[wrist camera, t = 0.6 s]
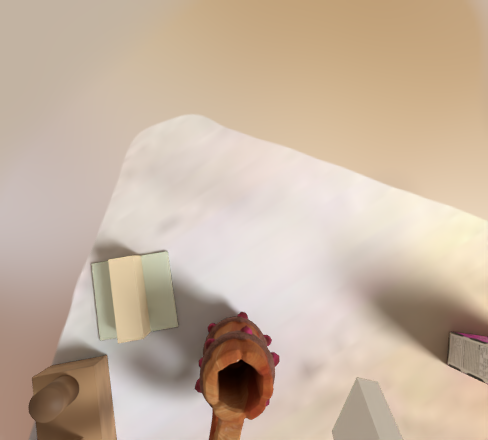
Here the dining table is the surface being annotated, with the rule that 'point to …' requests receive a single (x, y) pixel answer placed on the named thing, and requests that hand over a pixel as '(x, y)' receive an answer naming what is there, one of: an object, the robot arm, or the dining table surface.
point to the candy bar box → (469, 355)
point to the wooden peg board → (74, 401)
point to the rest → (134, 296)
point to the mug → (236, 374)
